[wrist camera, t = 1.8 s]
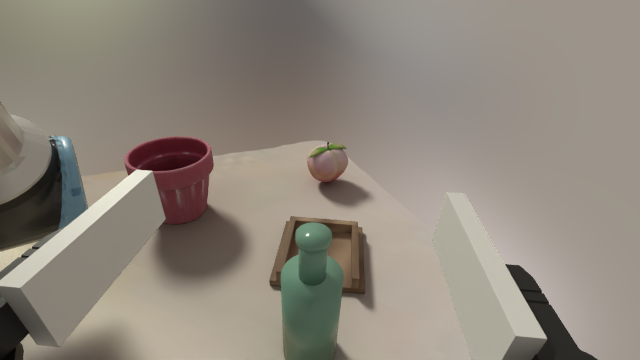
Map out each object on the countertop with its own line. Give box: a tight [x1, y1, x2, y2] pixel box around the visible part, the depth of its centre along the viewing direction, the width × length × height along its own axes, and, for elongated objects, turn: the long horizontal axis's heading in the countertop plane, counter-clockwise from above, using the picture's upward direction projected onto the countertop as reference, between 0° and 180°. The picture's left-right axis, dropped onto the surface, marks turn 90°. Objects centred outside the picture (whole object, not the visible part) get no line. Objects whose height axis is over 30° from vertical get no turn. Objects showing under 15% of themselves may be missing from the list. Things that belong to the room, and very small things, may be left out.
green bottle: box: [281, 222, 344, 360], centre depth 34 cm, size 6×6×18 cm
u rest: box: [270, 216, 365, 294], centre depth 51 cm, size 14×14×3 cm
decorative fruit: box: [307, 142, 348, 182], centre depth 70 cm, size 9×8×10 cm
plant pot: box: [125, 137, 213, 224], centre depth 58 cm, size 14×14×13 cm
